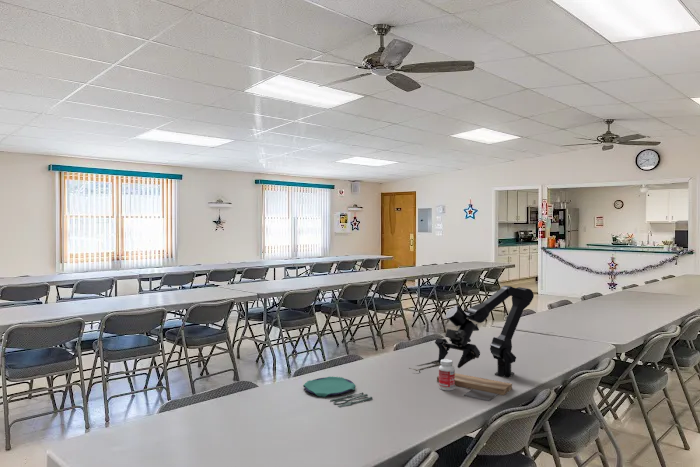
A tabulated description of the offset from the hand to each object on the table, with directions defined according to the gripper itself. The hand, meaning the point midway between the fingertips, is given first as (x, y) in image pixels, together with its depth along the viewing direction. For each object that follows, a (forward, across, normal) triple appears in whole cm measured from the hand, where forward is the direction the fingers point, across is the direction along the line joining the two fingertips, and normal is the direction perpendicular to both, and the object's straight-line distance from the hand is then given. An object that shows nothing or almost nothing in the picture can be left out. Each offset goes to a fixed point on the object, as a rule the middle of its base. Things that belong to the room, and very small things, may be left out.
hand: (448, 365), depth 193 cm
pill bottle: (+7, 0, +6) cm, 9 cm away
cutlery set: (+32, -28, -18) cm, 46 cm away
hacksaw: (-6, -23, +19) cm, 30 cm away
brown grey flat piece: (+3, +6, +10) cm, 12 cm away
